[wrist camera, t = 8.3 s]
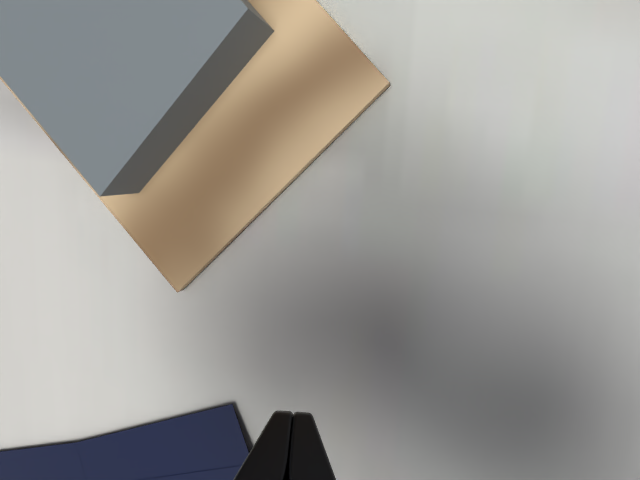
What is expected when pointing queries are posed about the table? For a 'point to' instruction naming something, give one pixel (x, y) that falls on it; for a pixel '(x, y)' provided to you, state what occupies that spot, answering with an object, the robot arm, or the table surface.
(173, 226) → the wooden board
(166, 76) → the gray rectangular block
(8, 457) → the navy blue placemat
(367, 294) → the table surface
